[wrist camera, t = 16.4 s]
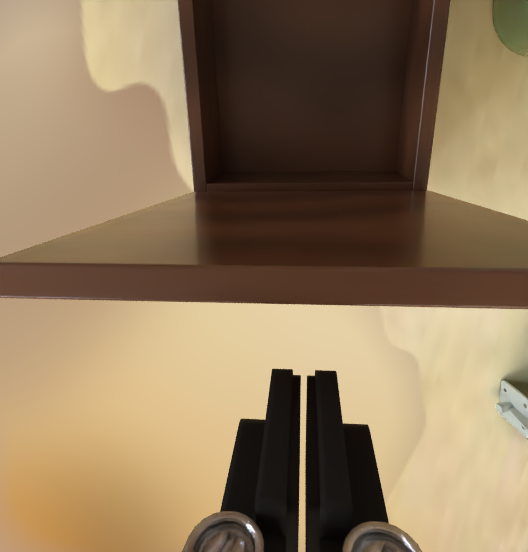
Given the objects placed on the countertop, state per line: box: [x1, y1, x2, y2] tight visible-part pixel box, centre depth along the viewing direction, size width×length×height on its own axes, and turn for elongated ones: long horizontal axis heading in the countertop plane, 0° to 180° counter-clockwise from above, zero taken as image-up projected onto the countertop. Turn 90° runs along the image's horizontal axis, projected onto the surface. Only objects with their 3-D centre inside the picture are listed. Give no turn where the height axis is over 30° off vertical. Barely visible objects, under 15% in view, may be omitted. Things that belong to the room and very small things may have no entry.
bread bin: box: [178, 0, 450, 192], centre depth 24 cm, size 16×14×6 cm
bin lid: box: [0, 191, 528, 309], centre depth 16 cm, size 16×14×1 cm
